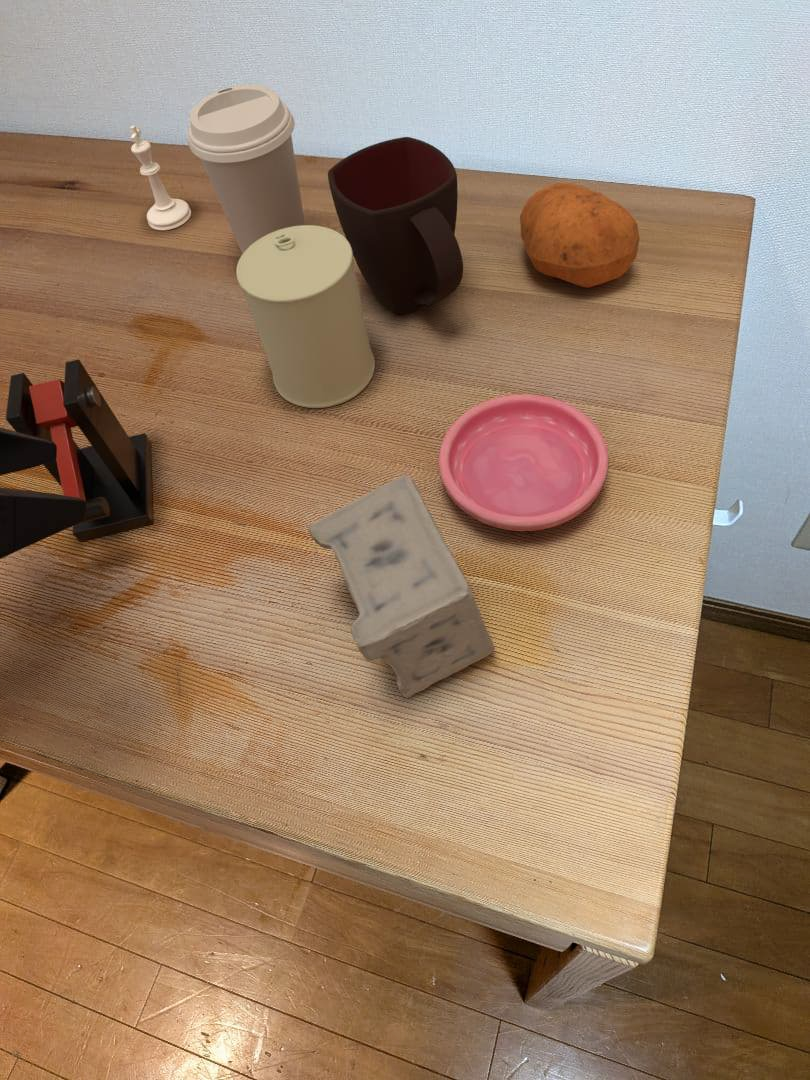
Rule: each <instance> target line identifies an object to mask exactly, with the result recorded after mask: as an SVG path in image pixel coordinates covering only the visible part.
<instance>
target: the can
mask: <svg viewBox="0 0 810 1080" xmlns="http://www.w3.org/2000/svg"><path fill="white" fill-rule="evenodd" d="M355 269H356V268H355V263H354V256H353V252H352V248H351V246H350V244H349V242H348V241H347V239H346V237H345V235H342V234H341V233H340V232H338V231H337V230H334V229H332V228H329V227H326V226H321V225H313V224H312V225H311V224H305V225H302V226H293V227H288V228H284V229H280V230H277V231H275V232H272V233H270V234H268V235H266V236H264V237H262V238H260V239H259V240H257V241H256V242H254V243H253V244H252V245H251V246H250V247H249V248H247V249H246V251H245V252H244V253H241V256H240V258H239V259H238V262H237V265H236V272H235V273H236V280H237V282H238V284H239V286H240V288H241V291H242V293H243V295H244V298H245V301H246V303H247V306H248V309H249V311H250V314H251V317H252V320H253V322H254V325H255V329H256V330H257V333H258V335H259V339H260V342H261V345H262V348H263V350H264V353H265V356H266V359H267V362H268V365H269V368H270V370H271V371H270V372H271V374H272V381H273V385H274V387H275V390H276V391H277V393H279V395H280V397H282V398H283V399H284V400H285V401H286V402H289V403H290V404H292V405H295V406H297V407H302V408H307V409H324V408H325V409H326V408H330V407H331V408H332V407H334V406H338V405H341V404H344V403H345V402H348V401H350V400H352V399H353V398H355V397H356V396H358V395H359V394H360V393H362V391H364V390H365V388H366V387H368V385H369V384H370V382H371V380H372V378H373V376H374V373H375V369H376V359H375V357H374V353H373V351H372V349H371V343H370V340H369V335H368V330H367V326H366V321H365V316H364V311H363V306H362V305H363V304H362V301H361V296H360V291H359V285H358V280H357V276H356V270H355Z"/></svg>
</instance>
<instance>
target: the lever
mask: <svg viewBox="0 0 810 1080" xmlns="http://www.w3.org/2000/svg"><path fill="white" fill-rule="evenodd" d="M29 389H30V394H31V399H32V403H33V408H34V413H35V418H36V423H37V424H38V425H40V426H42V427H44V428H46V429H48V430H49V431H51V436H52V441H53V442H54V443H55V444H56V446H57V458H56V460H57V465H58V470H59V475H60V480H61V485H62V487H61V489H62V495H64V496H71V497H77V498H82V499H83V500H84V501H85V503H86V518H85V520H84V521H83V522H87V521H91V520H95V519H99V518H103V517H107V516H109V515H110V509H109V505H108V502H107V500H106V499H105V498H104V497H99V498H95V499H90V500H86V499H85V494H84V489H83V485H82V480H81V475H80V470H79V465H78V460H77V456H76V451H75V446H74V441H75V440H74V436H73V431H72V428H75V427H78V425H77V424H76V423H75V421H74V420H73V418H72V417H71V416H70V414H69V413H68V411H67V410H66V409H65V407H64V406H63V398H64V381H63V380H62V379H60V378H58V379H54V380H49V381H45V382H42V383H37V384H33V386H29ZM73 440H74V441H73ZM83 522H81V523H83ZM78 524H79V523H78Z"/></svg>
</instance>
